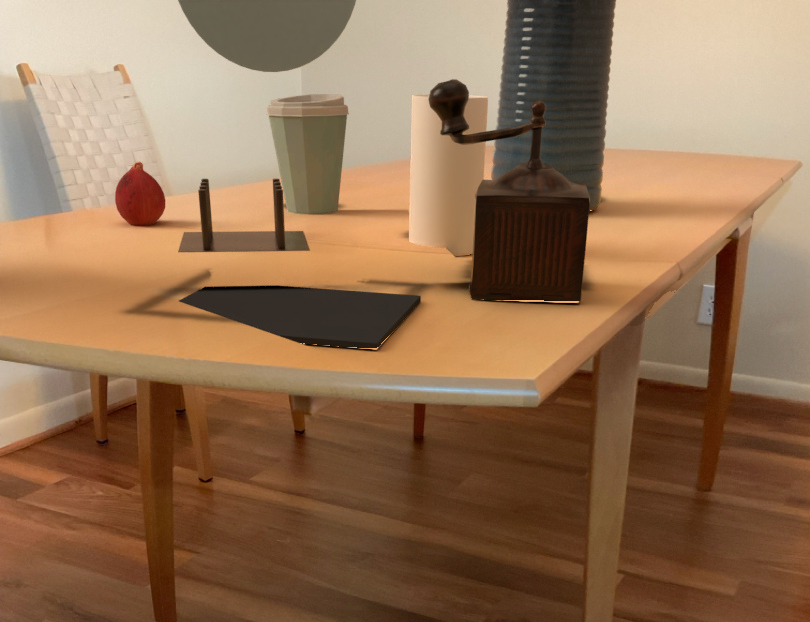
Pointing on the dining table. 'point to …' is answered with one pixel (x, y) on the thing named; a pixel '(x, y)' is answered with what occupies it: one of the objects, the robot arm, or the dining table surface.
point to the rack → (242, 240)
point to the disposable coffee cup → (309, 149)
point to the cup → (444, 177)
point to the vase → (557, 86)
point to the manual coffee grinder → (520, 215)
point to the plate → (269, 29)
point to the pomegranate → (139, 197)
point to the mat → (310, 312)
